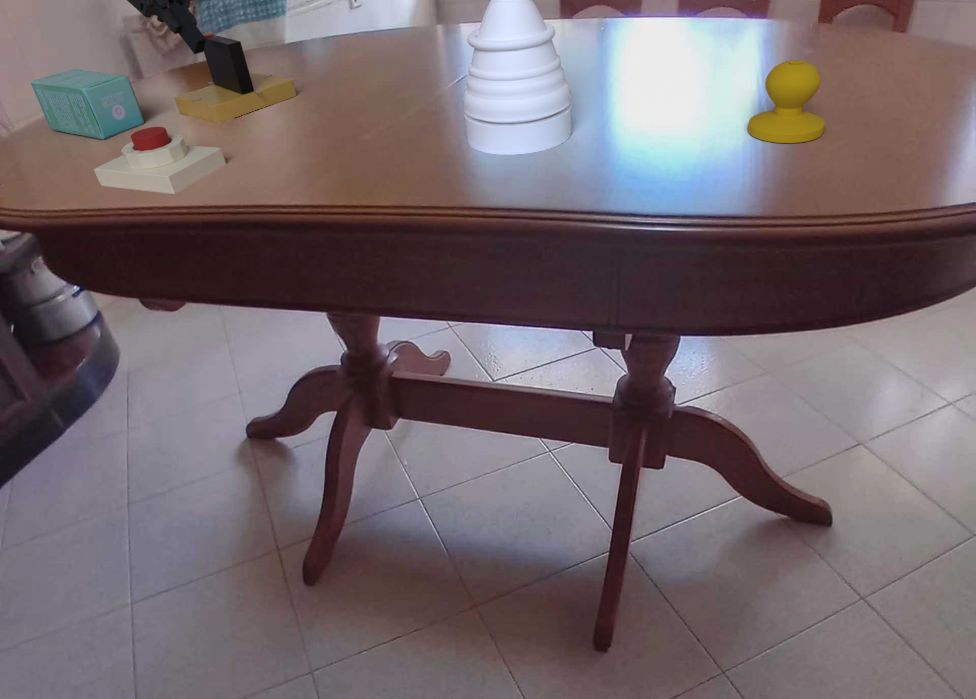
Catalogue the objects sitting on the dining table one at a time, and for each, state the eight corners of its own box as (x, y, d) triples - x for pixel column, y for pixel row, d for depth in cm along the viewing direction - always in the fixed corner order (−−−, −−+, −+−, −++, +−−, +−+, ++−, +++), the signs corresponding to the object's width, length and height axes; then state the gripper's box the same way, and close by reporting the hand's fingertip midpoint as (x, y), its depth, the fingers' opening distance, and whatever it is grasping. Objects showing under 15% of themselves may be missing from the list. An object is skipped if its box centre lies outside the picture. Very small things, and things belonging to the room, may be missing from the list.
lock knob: (254, 91, 104) (240, 39, 100) (242, 94, 103) (227, 42, 99) (225, 81, 111) (210, 32, 106) (213, 84, 110) (198, 35, 105)
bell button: (128, 151, 83) (122, 137, 82) (153, 139, 86) (148, 125, 85) (153, 154, 82) (148, 139, 81) (178, 141, 85) (172, 127, 84)
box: (104, 141, 99) (82, 87, 95) (50, 132, 106) (27, 81, 101) (147, 124, 104) (128, 72, 100) (94, 117, 111) (73, 67, 106)
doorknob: (786, 149, 75) (732, 130, 81) (839, 131, 78) (783, 114, 83) (798, 77, 70) (740, 62, 76) (854, 61, 73) (793, 48, 79)
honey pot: (476, 119, 92) (461, -35, 82) (574, 115, 90) (572, -43, 79) (457, 156, 82) (437, -14, 71) (568, 153, 80) (563, -24, 69)
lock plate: (225, 125, 100) (219, 106, 99) (173, 112, 108) (167, 95, 107) (303, 96, 109) (299, 79, 107) (250, 86, 116) (245, 70, 115)
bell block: (100, 186, 85) (86, 154, 83) (155, 158, 91) (143, 128, 89) (174, 194, 80) (162, 161, 78) (226, 164, 87) (216, 133, 85)
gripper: (140, -69, 109) (233, 53, 109) (56, -56, 101) (157, 75, 101) (144, -112, 103) (242, 18, 103) (55, -101, 95) (162, 39, 95)
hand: (200, 46), depth 102 cm, fingers closed
